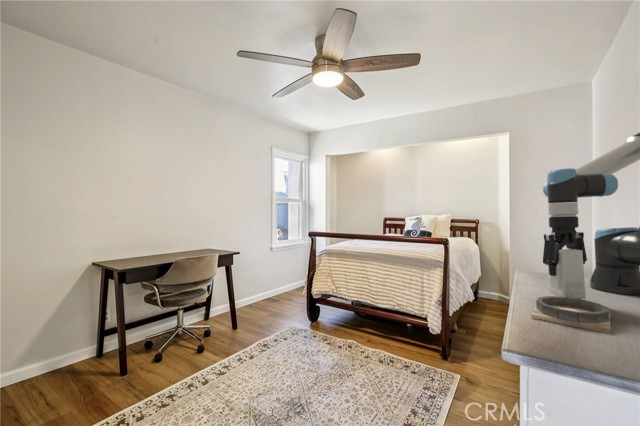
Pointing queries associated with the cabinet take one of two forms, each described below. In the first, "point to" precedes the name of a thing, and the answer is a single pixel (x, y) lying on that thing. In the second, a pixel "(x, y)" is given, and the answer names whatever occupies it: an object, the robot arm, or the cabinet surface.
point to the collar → (573, 312)
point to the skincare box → (570, 275)
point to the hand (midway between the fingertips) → (565, 284)
